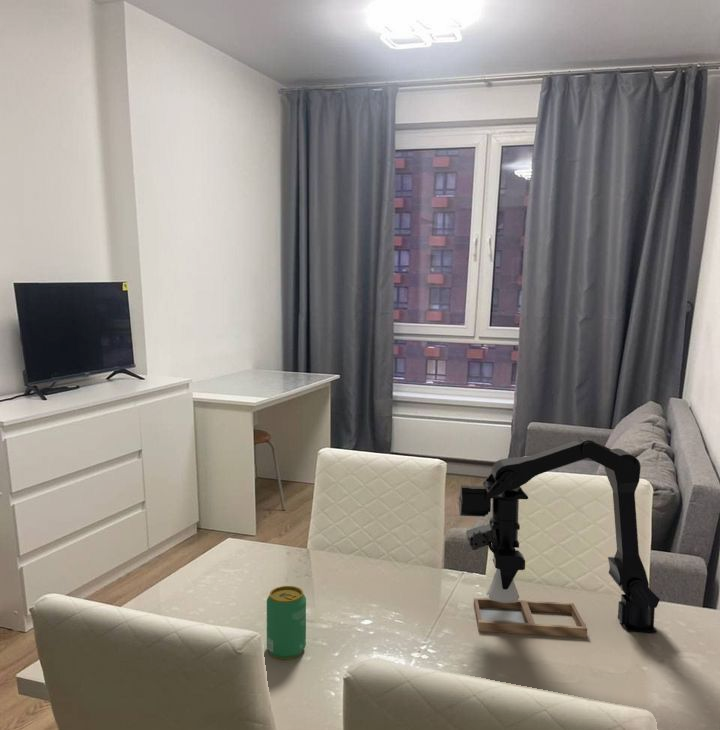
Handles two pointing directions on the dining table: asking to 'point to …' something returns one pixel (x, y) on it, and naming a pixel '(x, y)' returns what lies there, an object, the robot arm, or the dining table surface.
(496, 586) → the flask
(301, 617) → the beverage can
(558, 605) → the caddy
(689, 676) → the dining table surface
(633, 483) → the robot arm
